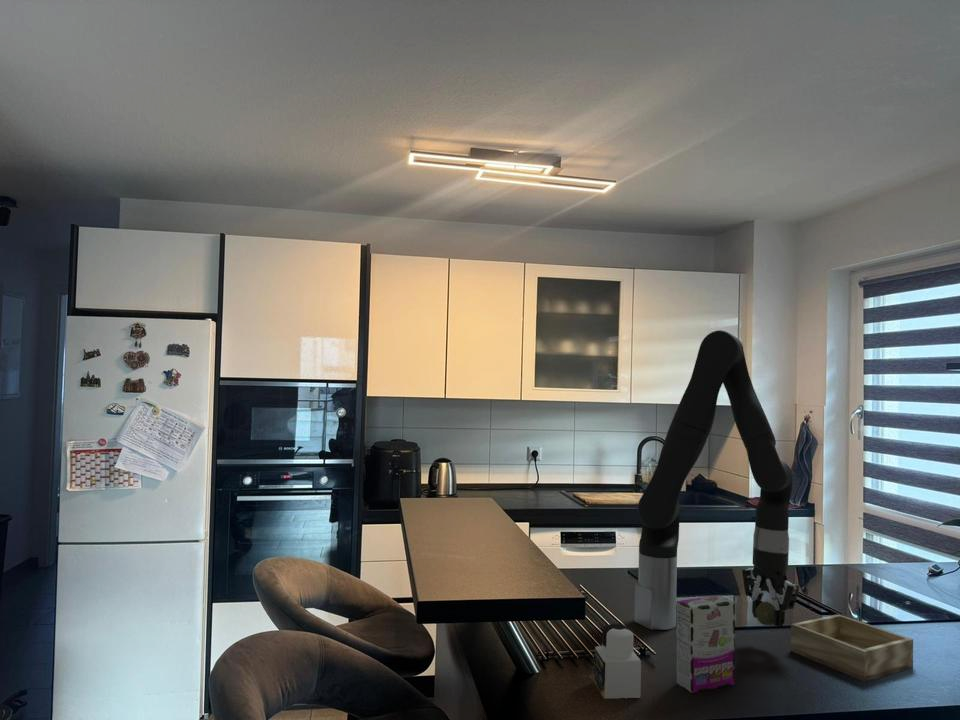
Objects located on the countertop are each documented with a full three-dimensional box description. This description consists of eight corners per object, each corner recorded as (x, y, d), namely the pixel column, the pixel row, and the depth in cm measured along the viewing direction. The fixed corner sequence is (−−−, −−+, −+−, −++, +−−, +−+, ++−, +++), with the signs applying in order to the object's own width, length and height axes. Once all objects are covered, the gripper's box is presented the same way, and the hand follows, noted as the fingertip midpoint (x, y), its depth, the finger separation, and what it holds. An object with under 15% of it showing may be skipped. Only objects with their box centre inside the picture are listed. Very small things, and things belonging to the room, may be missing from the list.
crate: (864, 681, 134) (864, 651, 134) (790, 650, 149) (791, 624, 149) (913, 667, 142) (913, 639, 142) (838, 639, 157) (838, 614, 157)
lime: (780, 629, 149) (781, 606, 149) (757, 626, 150) (758, 604, 150) (775, 622, 153) (776, 600, 153) (753, 619, 154) (754, 597, 154)
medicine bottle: (593, 682, 130) (595, 620, 130) (629, 682, 130) (630, 620, 131) (603, 699, 123) (605, 634, 123) (640, 699, 123) (642, 634, 124)
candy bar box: (717, 675, 135) (718, 594, 136) (735, 685, 130) (736, 601, 131) (673, 683, 131) (675, 599, 131) (691, 694, 126) (692, 607, 127)
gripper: (734, 540, 156) (731, 613, 156) (786, 556, 144) (783, 635, 143) (756, 538, 160) (753, 609, 159) (809, 554, 147) (806, 631, 147)
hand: (767, 621), depth 151 cm, fingers closed on lime, 5 cm apart
